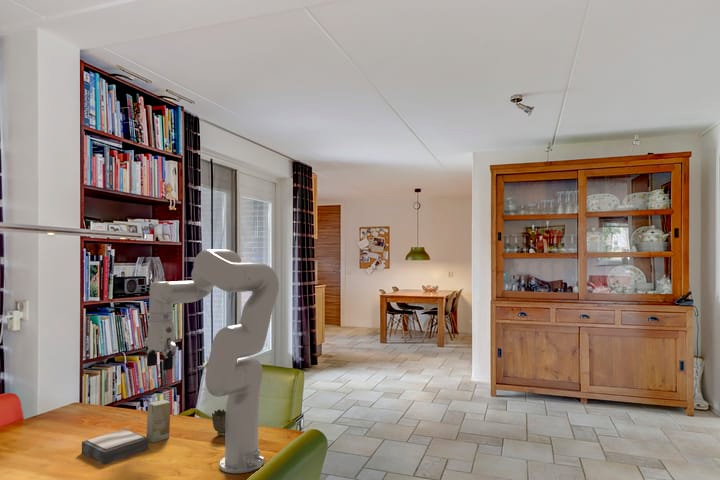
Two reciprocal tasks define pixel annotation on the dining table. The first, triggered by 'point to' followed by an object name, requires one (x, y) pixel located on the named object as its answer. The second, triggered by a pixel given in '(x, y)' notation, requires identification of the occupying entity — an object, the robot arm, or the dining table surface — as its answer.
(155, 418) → the skincare box
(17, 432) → the dining table surface
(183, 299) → the robot arm
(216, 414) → the cup
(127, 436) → the plinth
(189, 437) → the dining table surface
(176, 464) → the dining table surface
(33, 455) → the dining table surface
